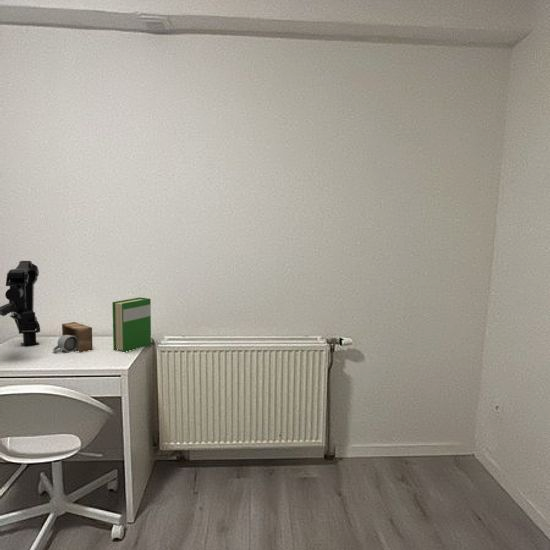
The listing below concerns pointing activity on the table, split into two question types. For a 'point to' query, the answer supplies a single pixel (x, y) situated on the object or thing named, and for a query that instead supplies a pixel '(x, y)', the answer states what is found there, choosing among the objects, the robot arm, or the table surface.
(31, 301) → the robot arm
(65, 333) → the wooden storage tray
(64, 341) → the ceramic mug
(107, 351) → the table surface
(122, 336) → the hardback book
